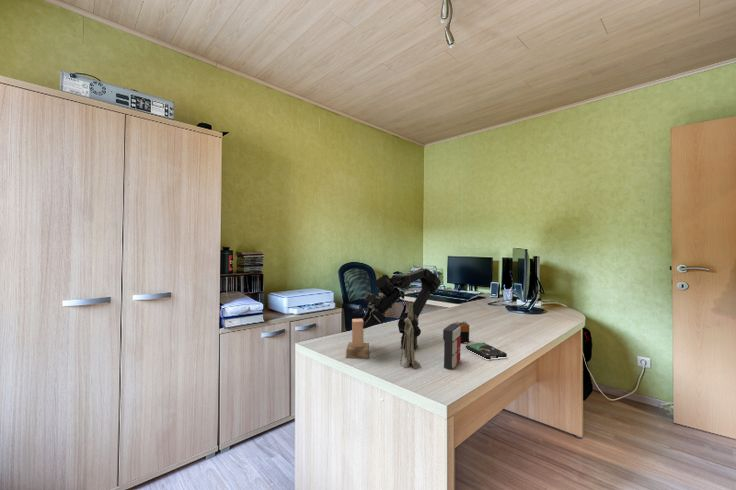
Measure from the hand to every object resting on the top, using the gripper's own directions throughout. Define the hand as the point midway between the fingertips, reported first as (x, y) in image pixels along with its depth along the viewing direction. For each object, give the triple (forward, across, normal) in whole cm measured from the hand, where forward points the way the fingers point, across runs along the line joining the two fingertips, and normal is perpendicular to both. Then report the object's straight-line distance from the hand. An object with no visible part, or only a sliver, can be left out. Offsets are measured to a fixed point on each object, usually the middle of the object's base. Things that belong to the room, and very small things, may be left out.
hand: (362, 325), depth 131 cm
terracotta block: (+8, 0, +5) cm, 9 cm away
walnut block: (+10, 0, +8) cm, 13 cm away
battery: (-26, -16, +44) cm, 54 cm away
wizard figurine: (-4, +12, +22) cm, 25 cm away
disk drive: (-29, 0, +48) cm, 56 cm away
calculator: (-16, +12, +34) cm, 39 cm away
